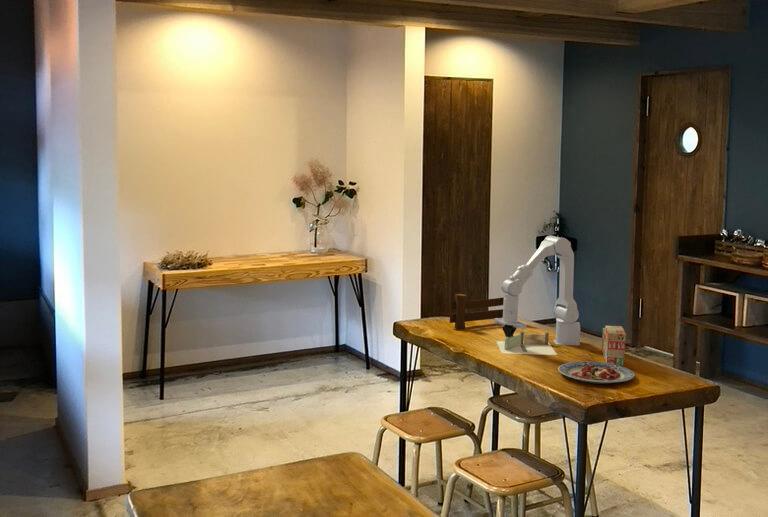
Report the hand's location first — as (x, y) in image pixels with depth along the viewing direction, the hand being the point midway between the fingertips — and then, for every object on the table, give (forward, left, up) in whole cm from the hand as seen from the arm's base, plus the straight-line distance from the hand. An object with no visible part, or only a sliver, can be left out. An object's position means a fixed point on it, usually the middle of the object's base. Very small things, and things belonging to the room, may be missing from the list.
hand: (508, 344), depth 337 cm
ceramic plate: (-26, +38, -2) cm, 46 cm away
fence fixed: (-10, -6, -1) cm, 12 cm away
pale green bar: (-1, 0, -1) cm, 2 cm away
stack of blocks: (-38, +12, -2) cm, 39 cm away
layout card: (-7, +1, -1) cm, 7 cm away
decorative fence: (+6, -40, -2) cm, 40 cm away
